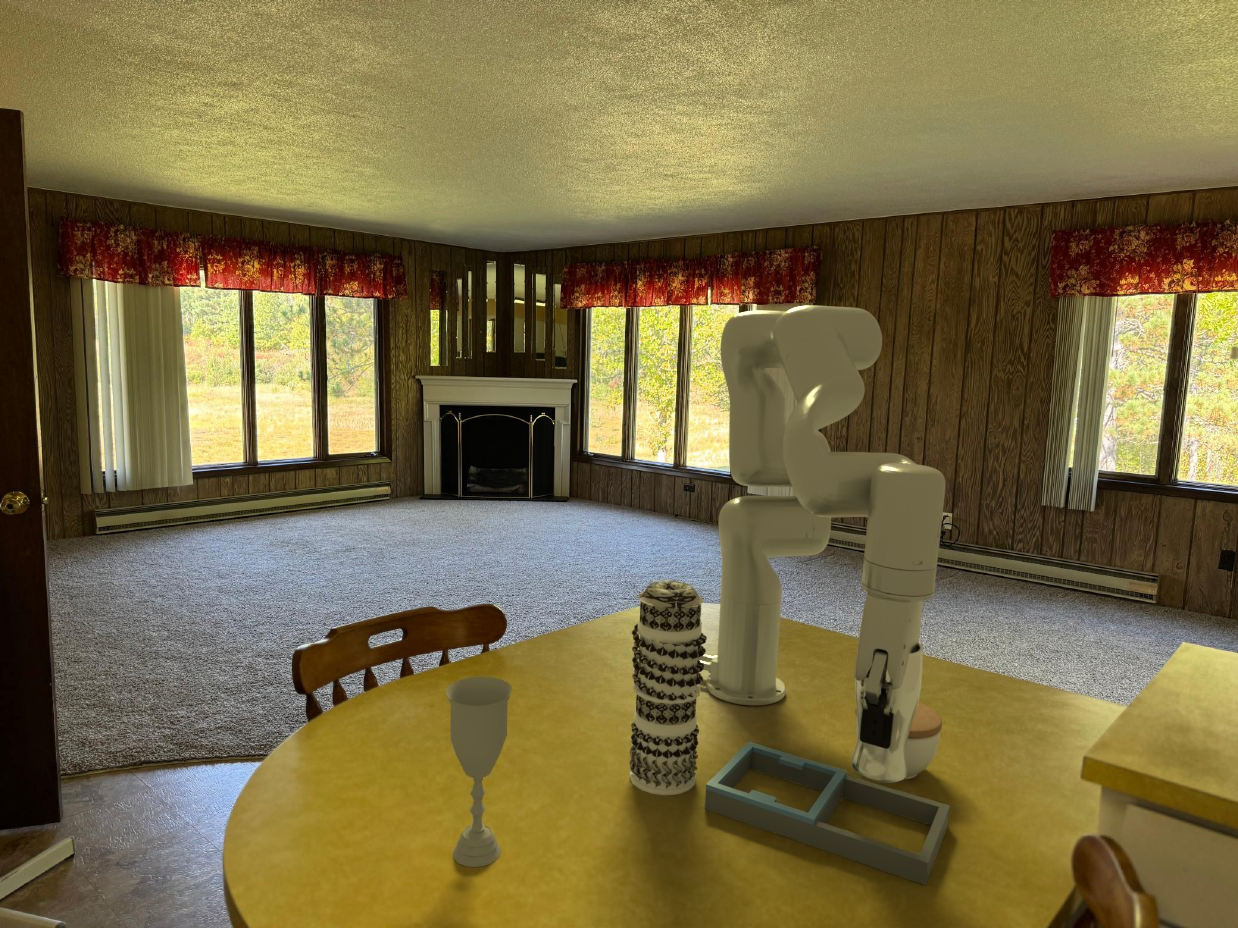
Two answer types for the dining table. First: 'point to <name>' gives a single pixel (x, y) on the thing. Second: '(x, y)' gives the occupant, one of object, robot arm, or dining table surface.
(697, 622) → the decorative candle
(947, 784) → the dining table surface
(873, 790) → the slot frame
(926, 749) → the lidded jar
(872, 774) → the beer glass
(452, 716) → the chalice
